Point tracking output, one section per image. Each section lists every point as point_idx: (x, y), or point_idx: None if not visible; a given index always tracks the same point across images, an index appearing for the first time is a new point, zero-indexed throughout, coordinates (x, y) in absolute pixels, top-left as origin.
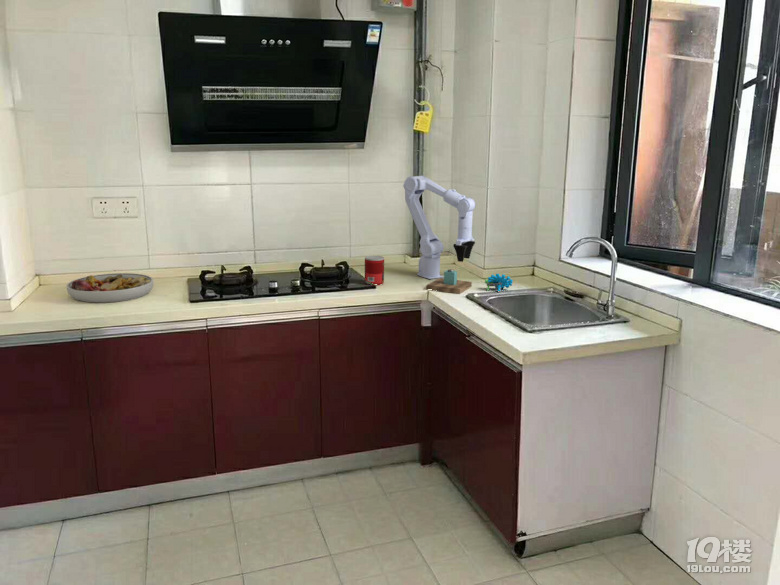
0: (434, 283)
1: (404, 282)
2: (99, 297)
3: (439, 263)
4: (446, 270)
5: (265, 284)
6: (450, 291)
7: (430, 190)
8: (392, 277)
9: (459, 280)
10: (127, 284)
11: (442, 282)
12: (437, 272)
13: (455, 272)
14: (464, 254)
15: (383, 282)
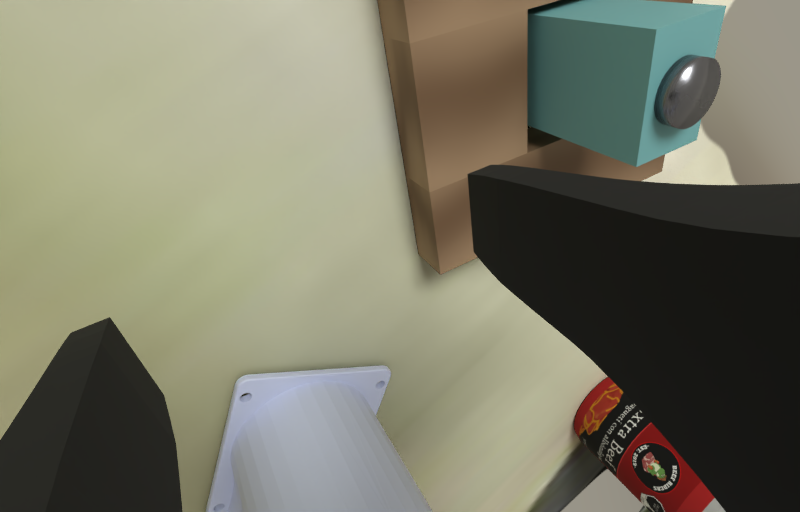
0: (615, 161)
1: (533, 365)
2: None
3: (323, 495)
4: (650, 158)
5: None
6: None
7: None
8: (472, 475)
9: (418, 74)
10: None
11: (566, 141)
12: (323, 411)
13: (696, 14)
14: (589, 201)
15: (604, 387)
